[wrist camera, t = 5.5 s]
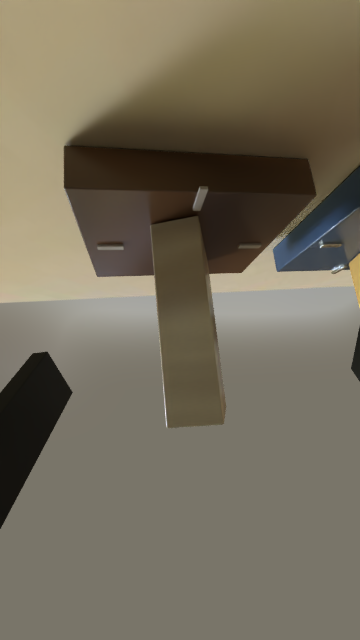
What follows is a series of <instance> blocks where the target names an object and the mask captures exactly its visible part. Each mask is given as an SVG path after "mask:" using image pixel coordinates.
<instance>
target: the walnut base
mask: <svg viewBox="0 0 360 640" xmlns="http://www.w3.org/2000/svg"><path fill="white" fill-rule="evenodd" d="M64 189H65V192H66V195H67V197H68V200H69V203H70V205H71V208H72V211H73V213H74V216H75V219H76V221H77V224H78V227H79V229H80V232H81V235H82V237H83V240H84V243H85V245H86V248H87V251H88V253H89V256H90V259H91V262H92V264H93V267H94V270H95V272H96V275H97V277H108V276H144V275H154V265H153V253H152V240H151V228H150V226H151V225H153V224H158V223H163V222H168V221H173V220H178V219H183V218H188V217H193V216H198V218H199V223H200V228H201V232H202V237H203V242H204V247H205V252H206V257H207V261H208V269H209V274H216V273H242V272H243V271H244V270H245V269H246V268H247V267H248V266H249V265H250V264H251V262H252V261H253V260H254V259H255V258H256V257H257V256H258V255H259V254H260V253H261V252H262V251H263V250H264V249H265V248H266V247H267V246H268V245H269V244H270V243H271V242H272V241H273V240H274V239H275V238H276V237H277V236H278V235H279V234H280V233H281V232H282V231H283V230H284V229H285V227H286V226H287V225H288V224H289V223H290V222H291V221H292V220H293V219H294V218H295V217H296V216H297V215H298V214H299V213H300V212H301V211H302V210H303V209H304V208H305V207H306V206H307V205H308V204H309V203H310V202H311V201H312V200H313V199H314V198H315V197H316V190H315V186H314V182H313V178H312V173H311V169H310V165H309V161H308V159H292V158H274V157H256V156H239V155H221V154H203V153H186V152H168V151H150V150H132V149H115V148H97V147H79V146H64Z"/></svg>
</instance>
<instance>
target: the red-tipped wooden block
mask: <svg viewBox="0 0 360 640" xmlns="http://www.w3.org/2000/svg"><path fill="white" fill-rule="evenodd" d="M349 267H350V271H351V275H352V279H353V283H354V287H355V291H356V295H357V299H358V303H359V307H360V254H358V255H357V256H356V257H355V258H354V259H353V260H352V261H351V262H350V263H349Z"/></svg>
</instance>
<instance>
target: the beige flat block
mask: <svg viewBox="0 0 360 640" xmlns="http://www.w3.org/2000/svg"><path fill="white" fill-rule="evenodd" d="M150 228H151V240H152V253H153V265H154V278H155V290H156V302H157V315H158V326H159V340H160V352H161V365H162V376H163V390H164V402H165V413H166V414H165V415H166V426H167V428H178V427H192V426H207V425H222V424H224V418H225V410H226V403H225V394H224V388H223V379H222V371H221V363H220V355H219V347H218V339H217V332H216V324H215V316H214V308H213V301H212V292H211V285H210V277H209V269H208V261H207V257H206V252H205V247H204V242H203V237H202V232H201V228H200V223H199V218H198V216H193V217H188V218H183V219H178V220H173V221H168V222H163V223H158V224H153V225H151V226H150Z"/></svg>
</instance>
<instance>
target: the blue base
mask: <svg viewBox="0 0 360 640" xmlns="http://www.w3.org/2000/svg"><path fill="white" fill-rule="evenodd" d="M273 253H274V259H275V264H276V270H277V272H282V271H318V270H334V271H332V272H331V273H332V274H336V273H337V272H339V271H341V270H350V267H349V263H350V262H351V261H352V260H353V259H354V258H355V257H356V256H357V255H358V254H360V166H359V167H358V168H357V169H356V170H355V171H354V172H353V173H352V174H351V175H350V176H349V177H348V178H347V179H346V180H345V181H344V182H343V183H341V184H340V185H339V186H338V187H337V188H336V189H335V190H334V191H333V192H332V193H331V194H330V195H329V196H328V197H327V198H326V199H325V200H324V201H323V202H322V203H321V204H320V205H319V206H318V207H317V208H316V209H314V210H313V211H312V212H311V213H310V214H309V215H308V216H307V217H306V218H305V219H304V220H303V221H302V222H301V223H300V224H299V225H298V226H297V227H296V228H295V229H294V230H293V231H292V232H291V233H290V234H289V235H287V236H286V237H285V238H284V239H283V240H282V241H281V242H280V243H279V244H278V245H277V246H276V247H275V248H274V249H273Z"/></svg>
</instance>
